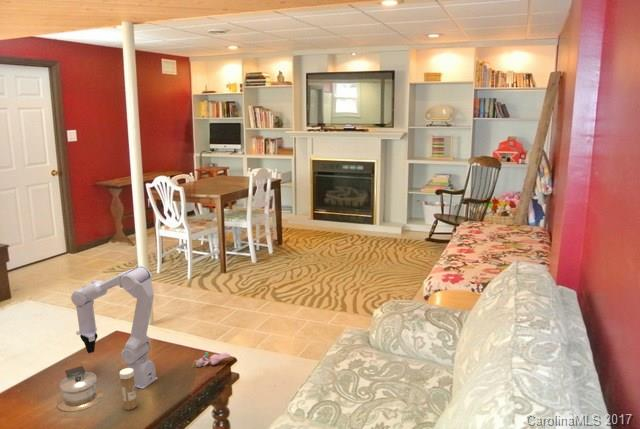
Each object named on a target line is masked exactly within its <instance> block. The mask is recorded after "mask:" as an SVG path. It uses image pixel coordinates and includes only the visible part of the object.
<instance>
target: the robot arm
mask: <svg viewBox="0 0 640 429" xmlns="http://www.w3.org/2000/svg"><path fill="white" fill-rule="evenodd" d="M152 279H153V274H152V273H151V272H150V270H149V269H148V268H147V267H146V266H138V267H136V268H131V269H129V270H126V271H124V272H120V273H119V274H117V275H115V276H112V277H111V278H109V279H106V280H105V281H103V280H96V279H95V280H92V281H91V282H90V283H91V284H88V285H86V284H85V285H84V286H82V288H80V289H78V290H74V292H72V293H71V298H70V299H71V302H72V303H73V304H74V305H75V309H76V315H77V321H78V323H77V324H78V329H79V330H78V331H76V332H75V333H76V335H77V336H79V337H80V339H81V341H82V342H83V344H84V346H85V349H86V352H87V353H88V354H92V353H95V348H96V342H97V339H98V337H99V336H98V333H97V331H98V328H97V325H96V324H97V323H96V318H95V309H94V303H95V300H97V299H98V298H100V297H103V296H105V295H106V294H107V293H108V290H109V289H112V288H115V287H116V286H118V287H119V288H120V289H121V288H122V289H124V291H126V292H127V293H128V294H129V295H130V296H131V297H133V298H135V299H136V303H135V309H134V313H133V314H134V315H133V321H132V325H131V332H130V336H129V338H128V340H127V341H126V343H125V344H124V348H123V349H122V351H121V354H120V356H121V359H122V360H123V361H124V362H125V364H126V366H127V367H126V368H132V369H133V370H134V382H135V388H138V389H142V390H143V389H145V388H147V387H148V386H150V385H151V384H152V383H154V382H155V381H157V380H158V379H159V378H158V377H157V372H156V365H155V363H154V362H153V361H152V360H150V359H149V358H148V356H149V352H150V350H151V344H150V339H151V338H150V337H149V336H148V334H147V333H148V328H149V325H150V318H151V312H152V307H153V302H154V297H155V296H154V295H155V294H154V288H153V283H152V281H153V280H152Z"/></svg>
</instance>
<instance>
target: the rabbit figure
mask: <svg viewBox="0 0 640 429" xmlns="http://www.w3.org/2000/svg"><path fill="white" fill-rule="evenodd" d="M209 355H210V354H209V352H207V351H206V352H204V355H203V356H202V357H201V358H199V359H197V360H196V359H195V360H193V361H192V368H193V369H194V366H195V367H197V368H202V367H204V366H206V365H208V364H209V363H210V365H212V366H214V365H216V364H219V363H220V361H222V360H223V359H227V358H229V359H230V358H231V354H229V353H227V352H222V353H220V354H219V353H218V354H215V353H214V354H212V355H211V356H210V357H209ZM208 357H209V358H208Z"/></svg>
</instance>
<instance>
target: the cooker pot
mask: <svg viewBox="0 0 640 429" xmlns="http://www.w3.org/2000/svg"><path fill="white" fill-rule="evenodd" d="M104 393H105V392H104V390H103V389H102V388H100V387H98V386H97V385H96V384H95V385H94V386H92V387H91V388H89V389H87V390H85V391H82V392H78V393H64V392H62V395H61V397H59V399H58V400H57V403H56V406H57V409H58V410H60V411H62V412H67V413H68V412H69V413H72V412H73V413H74V412H80V411H83V410H86V409H89V408H91V407H93V406H95V405H97V404H98V403H99V402H100V401H101V400H102V399H103V398H104V396H105V394H104Z"/></svg>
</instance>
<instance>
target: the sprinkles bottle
mask: <svg viewBox="0 0 640 429" xmlns="http://www.w3.org/2000/svg"><path fill="white" fill-rule="evenodd" d="M119 378H120V384H121V386H120V388H121V394H122V395H121V396H122V401H123V409H124V410H127V411H129V410H133V409H135V408H136V407H137V406H138V402H137V400H138V399H137V392H136V390H137V389H136V387H135V382H134V370H133V369H132V368H127V367H126V368H123V369H121V370H120V371H119Z"/></svg>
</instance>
